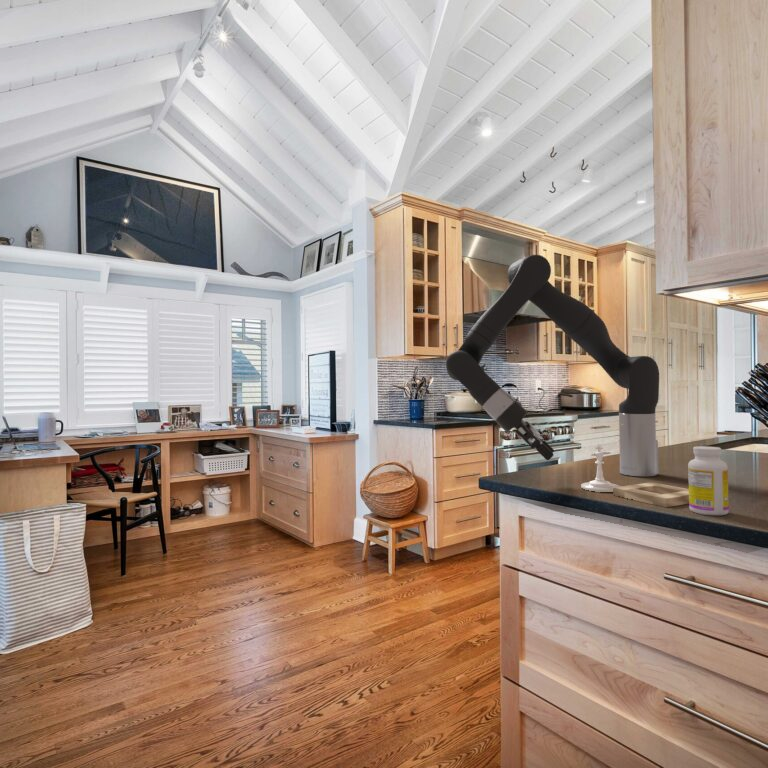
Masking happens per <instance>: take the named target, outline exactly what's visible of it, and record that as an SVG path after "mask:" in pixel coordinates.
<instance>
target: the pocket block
mask: <svg viewBox="0 0 768 768" xmlns="http://www.w3.org/2000/svg"><path fill="white" fill-rule="evenodd" d="M620 486H621V485H620ZM612 495H615V496H614V497H618V496H620V497H619V498H622V497H624V498H623V499H627V498H628V500H631V499H633V500H632V501H636V502H640V503H645V504H649V505H654V506H659V507H663V508H670V507H677V506H682V505H688V504H689V488H684V487H679V486H674V485H668V484H662V483H657V482H653V481H650V482H643V483H638V484H636V483H635V484H630V485H623V486H621V487H614V488H613V493H612Z"/></svg>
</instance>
